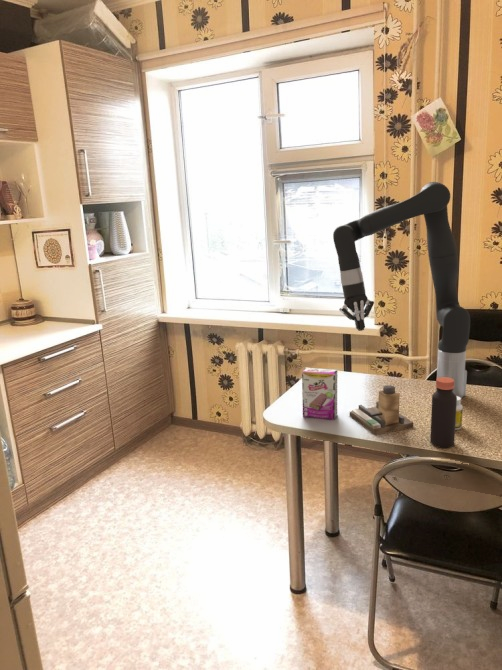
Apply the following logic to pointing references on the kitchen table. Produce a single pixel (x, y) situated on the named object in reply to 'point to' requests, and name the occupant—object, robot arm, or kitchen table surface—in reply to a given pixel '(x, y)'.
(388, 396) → the block
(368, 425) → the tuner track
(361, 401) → the kitchen table surface
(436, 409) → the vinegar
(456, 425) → the supplement bottle
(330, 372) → the candy bar box
